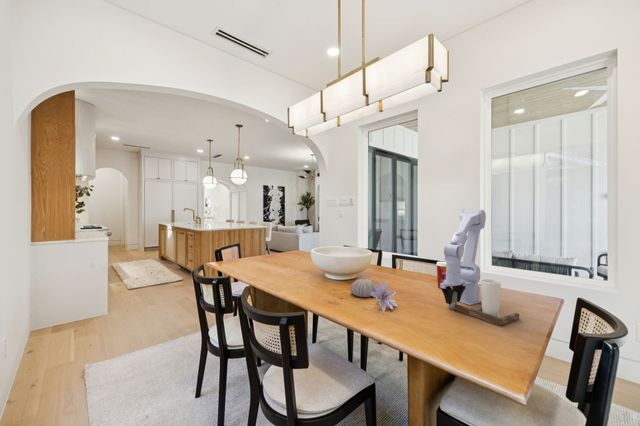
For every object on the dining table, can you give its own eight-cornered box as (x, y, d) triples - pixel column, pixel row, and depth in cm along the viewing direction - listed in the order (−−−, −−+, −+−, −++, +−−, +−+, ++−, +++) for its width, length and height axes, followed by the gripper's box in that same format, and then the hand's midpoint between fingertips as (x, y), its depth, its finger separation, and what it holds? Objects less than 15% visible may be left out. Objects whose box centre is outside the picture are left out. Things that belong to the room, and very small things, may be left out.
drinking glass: (503, 322, 105) (504, 284, 104) (484, 321, 106) (484, 283, 106) (495, 316, 111) (496, 279, 111) (477, 314, 112) (478, 278, 112)
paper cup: (444, 290, 146) (445, 264, 146) (432, 286, 153) (433, 262, 152) (454, 288, 149) (454, 263, 149) (442, 285, 156) (442, 260, 156)
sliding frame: (467, 302, 127) (468, 287, 127) (519, 319, 108) (520, 301, 108) (447, 307, 120) (447, 291, 120) (498, 326, 101) (499, 307, 101)
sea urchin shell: (355, 299, 130) (356, 283, 130) (346, 291, 143) (346, 276, 143) (381, 298, 133) (381, 281, 133) (370, 289, 146) (370, 275, 146)
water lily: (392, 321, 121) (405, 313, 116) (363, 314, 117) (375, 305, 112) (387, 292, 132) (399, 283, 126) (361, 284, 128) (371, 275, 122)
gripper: (455, 268, 126) (455, 297, 126) (434, 271, 119) (433, 302, 119) (470, 271, 120) (469, 302, 120) (448, 274, 113) (448, 307, 113)
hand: (452, 302), depth 119 cm, fingers open, 5 cm apart
